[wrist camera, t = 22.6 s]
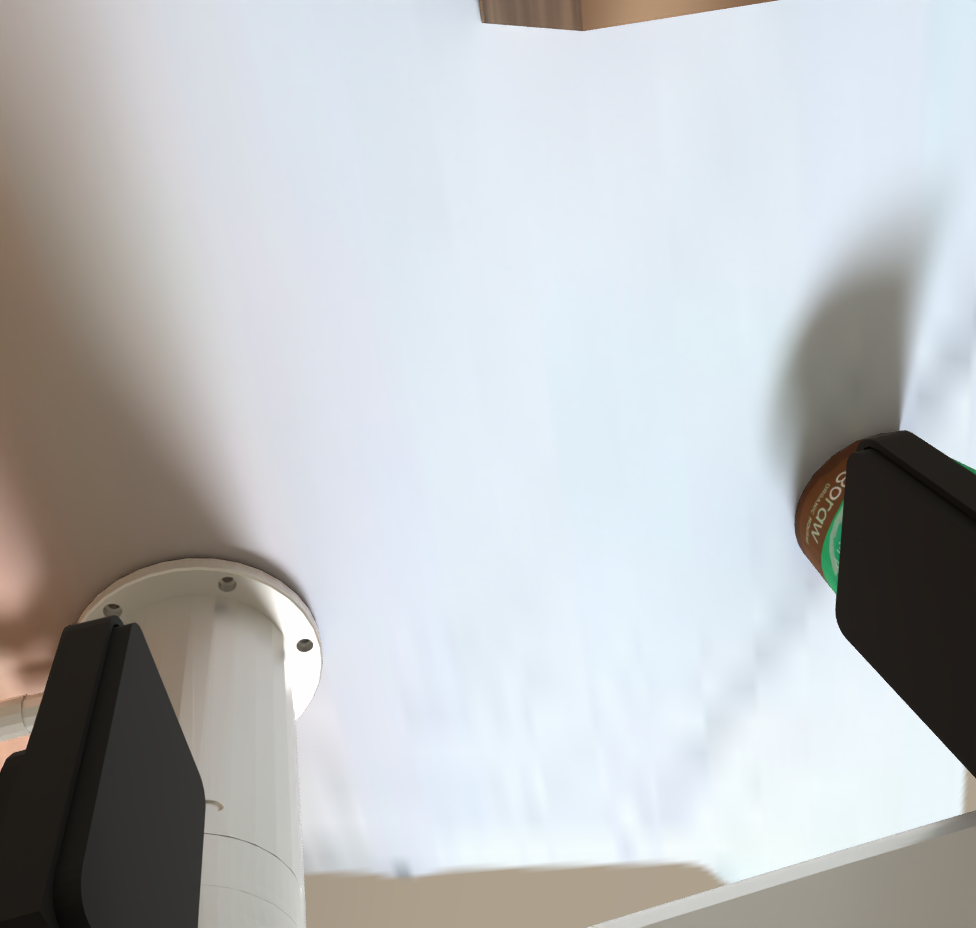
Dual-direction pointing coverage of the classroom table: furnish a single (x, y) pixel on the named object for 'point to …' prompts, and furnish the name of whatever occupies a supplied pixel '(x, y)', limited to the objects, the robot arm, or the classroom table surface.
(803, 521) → the food container
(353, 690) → the classroom table surface
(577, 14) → the cabinet
